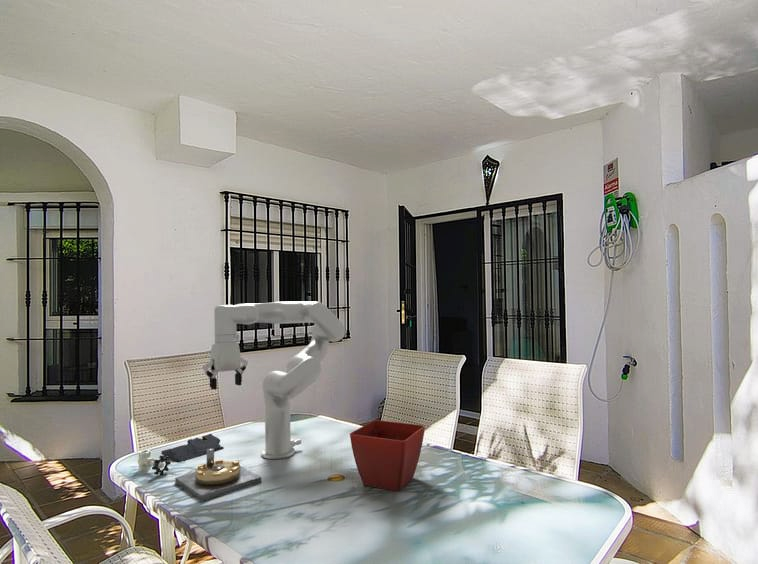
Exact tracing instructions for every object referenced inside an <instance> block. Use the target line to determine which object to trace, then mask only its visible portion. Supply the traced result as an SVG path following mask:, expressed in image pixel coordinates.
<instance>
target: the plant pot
mask: <svg viewBox="0 0 758 564" xmlns="http://www.w3.org/2000/svg"><path fill="white" fill-rule="evenodd" d="M425 428H426V426H425V425H424V424H423V425H422V424H414V423H405V422H396V421H387V420H379V419H373V420H372V421H370V422H368V423H366V424H365V425H363V426H360V427H359V428H358V429H355V430H353V431H352V432H350V433H349V439H350V443H351V449H352V454H353V457H354V462H355V465H356V469H357V471H358V474H359V477H360V480H361V482H362V484H363V486H367V487H373V488H379V489H384V490H387V491H393V492H394V491H395V492H399V491H401V490H403V489H404V487H405V486H406V485H407V484H408V483H409V482H411V480H413V478H414V476H415V473H416V470H417V467H418V463H419V459H420V455H421V453H422V452H421V451H422V447H423V441H424V437H425Z"/></svg>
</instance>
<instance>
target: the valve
mask: <svg viewBox="0 0 758 564" xmlns="http://www.w3.org/2000/svg"><path fill="white" fill-rule="evenodd" d="M158 458H159V459H155V458H153V457H151V450H149V449H145V450H140V451H139V452H138V460H137V464H138V472H139V473H145V472H149V471H150V470H155V471H154V472H153V474H154V475H156V476H158V475H160V476H163V475H164V474H165V472H168V471H169V467H168V466H170V465H171V461H170V459H169V457H168V456H164V455H159V457H158Z"/></svg>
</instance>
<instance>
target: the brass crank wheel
mask: <svg viewBox="0 0 758 564" xmlns="http://www.w3.org/2000/svg"><path fill="white" fill-rule="evenodd" d="M240 466H241V464H240V462H239V461H238V460H232V461H230V460H229V461H227V460H226V461H225V460H224V459H223V458H222V459H216V460H215V452H214V449H207V454H206V463H201V464H199V465H198V466H197V468H196V469H195V472H194V473H195V480H196V482H197V483H200V484H204V485H217V484H223V483H227V482H230V481H233V480H235V479H237V478H238V477H239V476H240V474H241V470H240Z"/></svg>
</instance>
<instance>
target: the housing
mask: <svg viewBox="0 0 758 564" xmlns="http://www.w3.org/2000/svg"><path fill="white" fill-rule="evenodd" d="M240 470H241V474H240V476H239V477H238V478H237V479H235V480H233V481H230V482H227V483H223V484H217V485H204V484H200V483H197V482H196V480H195V472H192V473H188V474H185V475H181V476H177V477H175V478H174V479H175V480H174V481H175V482H174V483H175V484H176V485H178V486H179V487H181V488H182V489H184V490H185V491H186V492H188V493H189V494H190V495H192V496H193V497H195V498H197V499H198V500H199V501H200V502H203V501H207V500H210V499H212V498H216V497H219V496H222V495H225V494H228V493H229V494H230V493H232V492H234V491H237V490H241V489H244V488H247V487H251V486H253V485H257V484H260V483H262V476H261V475H258V474H257V473H255V472H253V471H251V470H248V469H247V468H244V467H243V466H241V465H240Z"/></svg>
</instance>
